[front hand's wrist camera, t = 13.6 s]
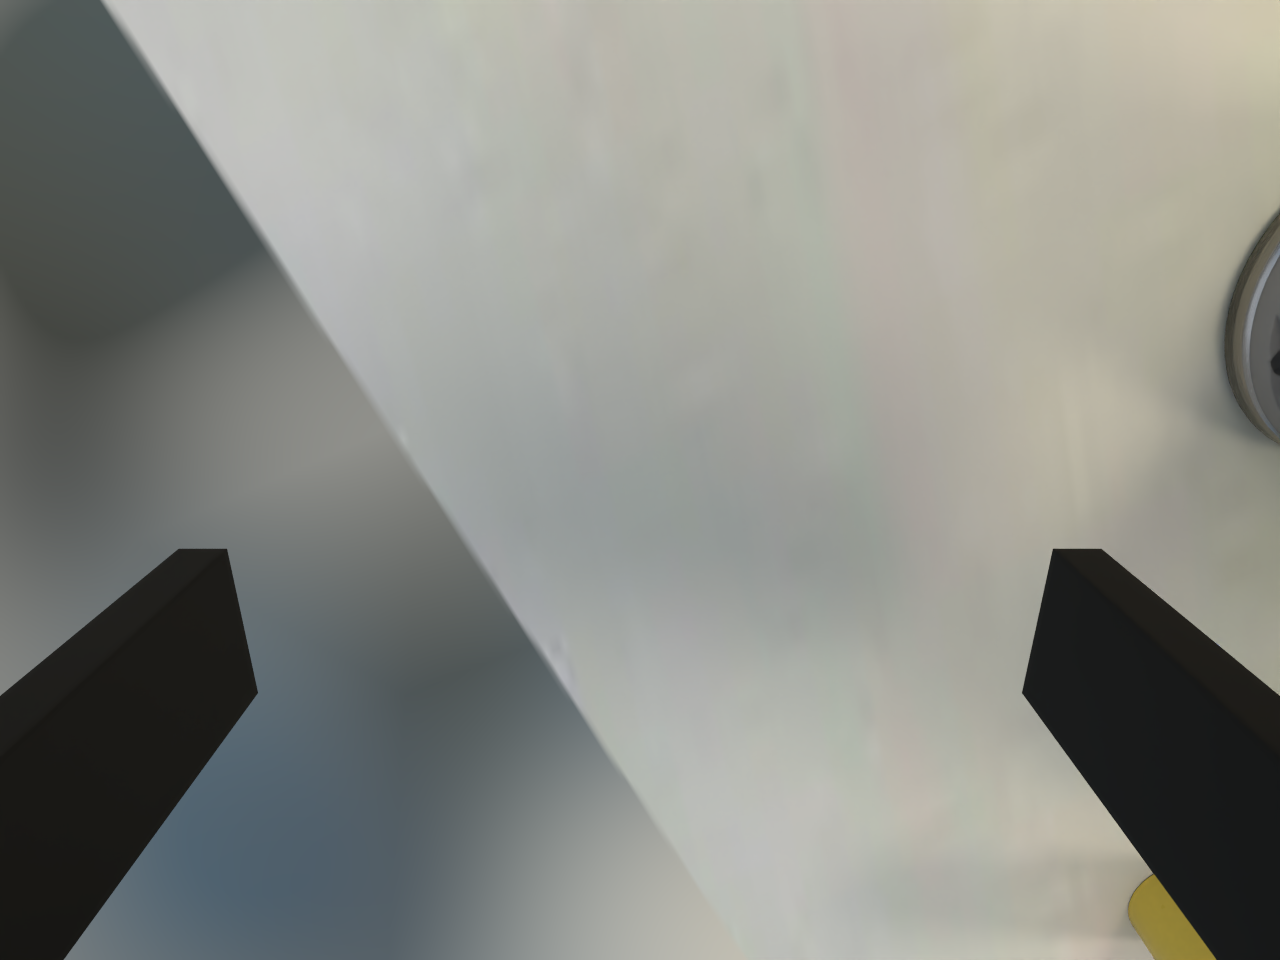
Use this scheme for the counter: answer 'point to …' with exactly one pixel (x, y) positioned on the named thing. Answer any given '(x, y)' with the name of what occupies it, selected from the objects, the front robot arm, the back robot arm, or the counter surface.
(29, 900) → the front robot arm
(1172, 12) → the counter surface
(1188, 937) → the tin
